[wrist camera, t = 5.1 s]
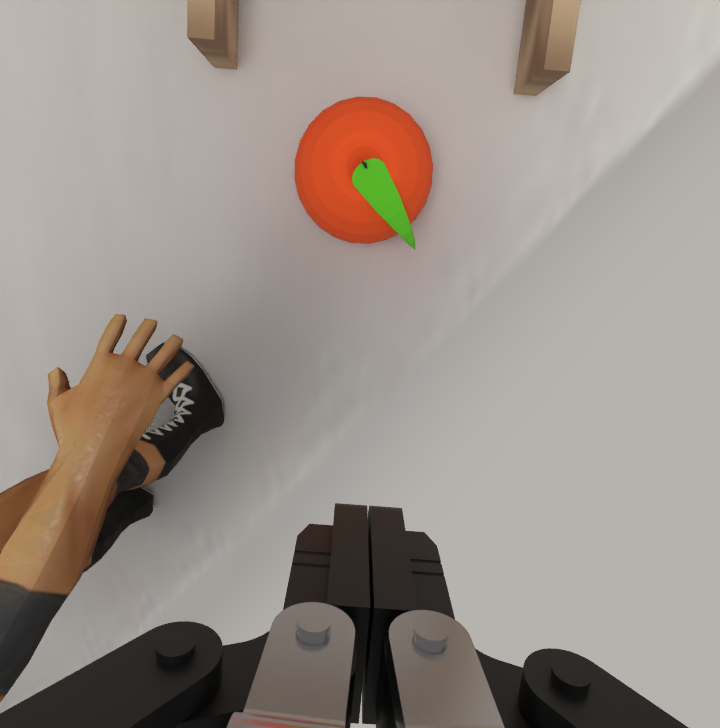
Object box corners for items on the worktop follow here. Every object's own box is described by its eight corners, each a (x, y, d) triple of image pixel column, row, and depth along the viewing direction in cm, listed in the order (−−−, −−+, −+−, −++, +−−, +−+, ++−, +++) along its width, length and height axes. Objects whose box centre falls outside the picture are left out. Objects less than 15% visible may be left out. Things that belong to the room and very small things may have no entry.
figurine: (222, 245, 33) (-871, 422, 4) (309, 313, 34) (20, 895, 5) (2, 541, 37) (-1297, 1715, 8) (85, 595, 38) (-797, 1810, 9)
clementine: (458, 210, 32) (486, 206, 25) (358, 280, 33) (359, 295, 26) (378, 84, 31) (385, 44, 24) (275, 162, 32) (253, 144, 25)
